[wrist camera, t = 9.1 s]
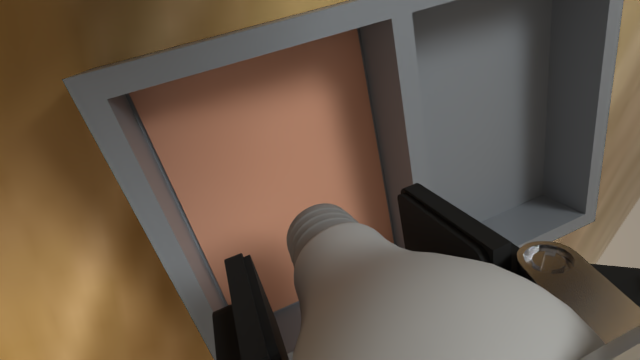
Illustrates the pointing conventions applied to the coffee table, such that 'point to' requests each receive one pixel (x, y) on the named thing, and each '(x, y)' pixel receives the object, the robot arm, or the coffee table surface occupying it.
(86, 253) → the coffee table surface
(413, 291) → the lightbulb
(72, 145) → the coffee table surface
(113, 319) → the coffee table surface
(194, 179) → the sorting tray
